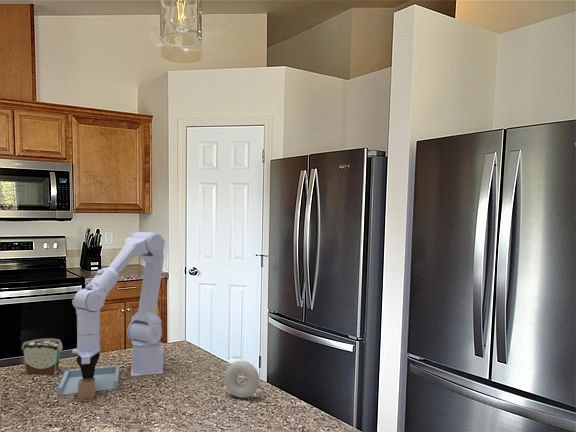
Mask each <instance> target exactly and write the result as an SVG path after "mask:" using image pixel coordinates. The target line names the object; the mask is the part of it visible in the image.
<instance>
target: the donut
mask: <svg viewBox="0 0 576 432" xmlns="http://www.w3.org/2000/svg"><path fill="white" fill-rule="evenodd" d="M240 374H243V375H244V376H245V377H246V383H245V384H241V383H240V382H239V381H238V379H237V377H238V375H240ZM224 383H225V384H224V385H225V386H226V389H227V390H228V392H229V393H230V394H232V395H233V396H235V397H237V398H239V399H242V398H244V399H246V398H249V397H250V396H253V395H254V394H255V393H256V391H257V390H258V388H259V385H260V375H259V372H258V371H257V368H256V367H255V366H254V365H253V363H250V362H249V361H246V360H236V361H234V362H231V364H230V365H228V367H227V368H226V370H225V373H224Z"/></svg>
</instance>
